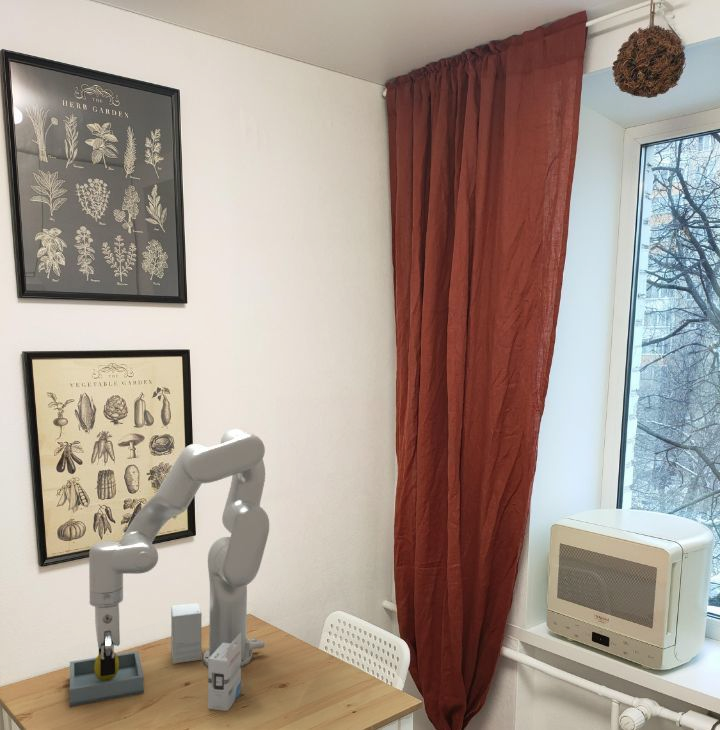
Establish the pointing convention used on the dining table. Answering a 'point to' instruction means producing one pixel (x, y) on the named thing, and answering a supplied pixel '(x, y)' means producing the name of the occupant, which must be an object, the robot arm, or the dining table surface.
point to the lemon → (97, 669)
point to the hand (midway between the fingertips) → (106, 665)
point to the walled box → (94, 690)
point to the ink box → (224, 675)
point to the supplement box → (186, 632)
